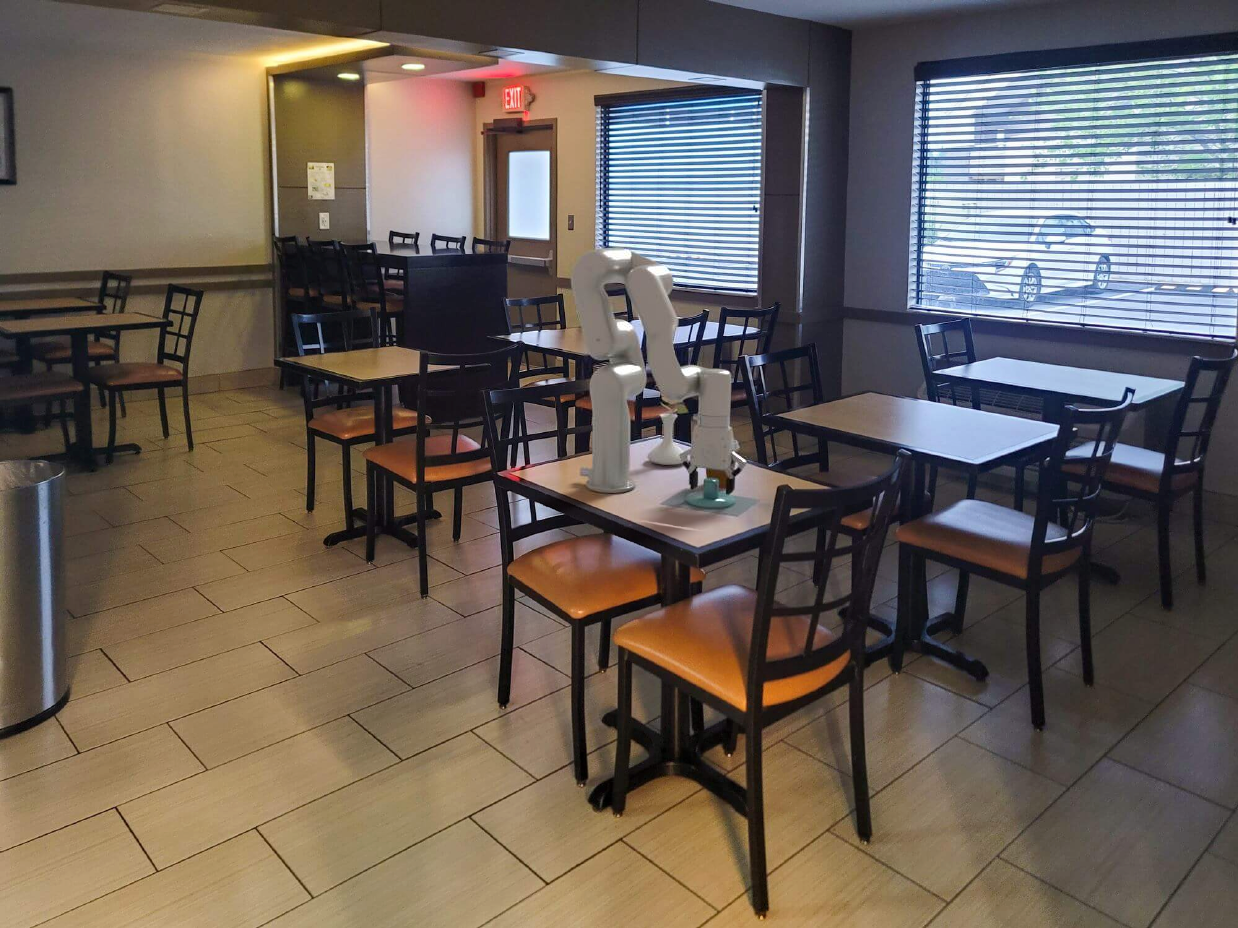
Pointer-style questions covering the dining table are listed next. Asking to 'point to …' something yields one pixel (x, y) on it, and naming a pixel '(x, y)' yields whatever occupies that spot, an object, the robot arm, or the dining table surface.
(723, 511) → the mat
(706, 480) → the lid
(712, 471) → the disposable coffee cup
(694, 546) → the dining table surface
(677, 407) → the flower in vase
